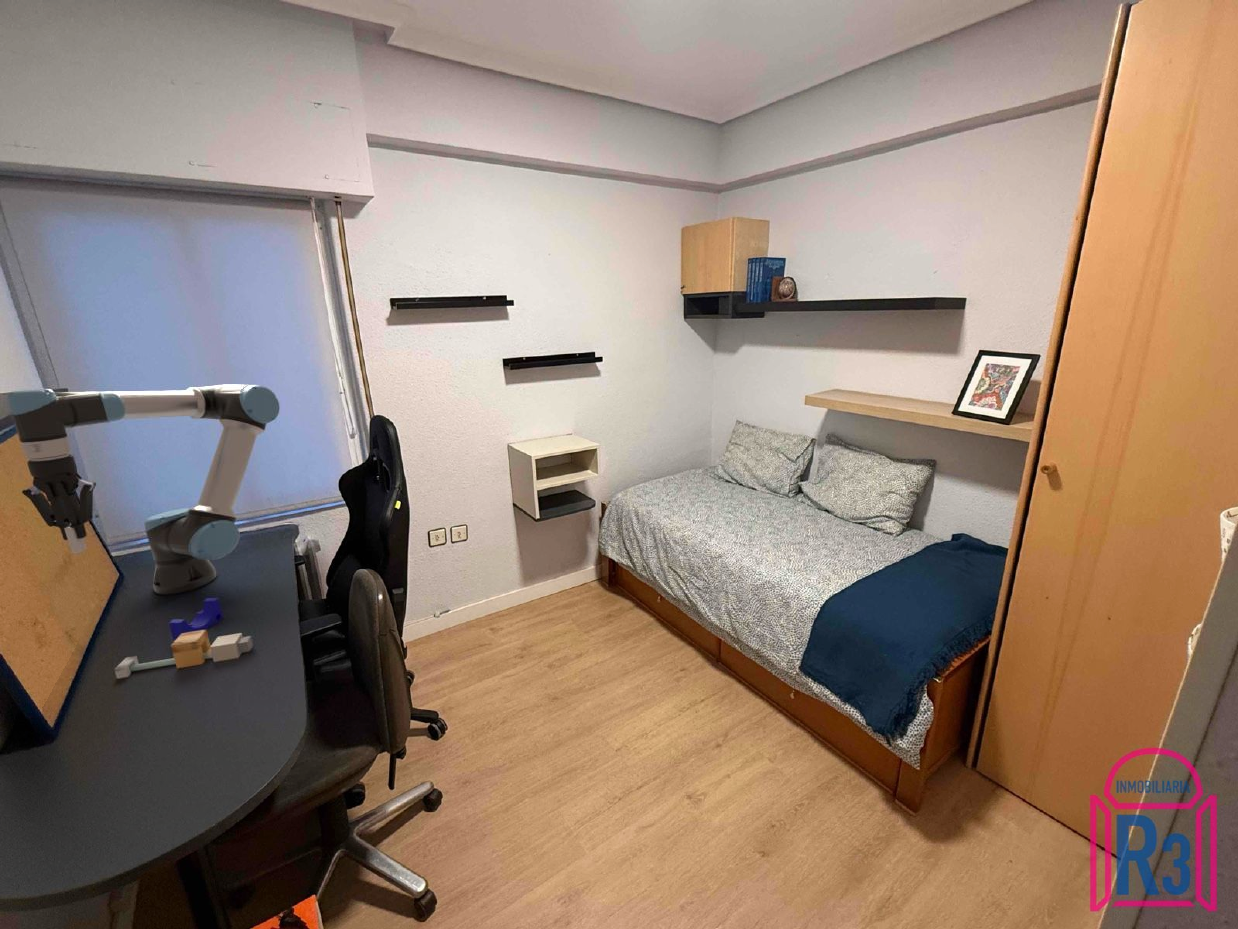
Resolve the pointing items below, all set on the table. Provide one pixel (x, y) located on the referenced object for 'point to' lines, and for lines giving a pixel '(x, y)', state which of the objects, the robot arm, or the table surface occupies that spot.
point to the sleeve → (190, 648)
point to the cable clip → (198, 619)
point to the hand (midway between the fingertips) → (79, 550)
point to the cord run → (218, 651)
